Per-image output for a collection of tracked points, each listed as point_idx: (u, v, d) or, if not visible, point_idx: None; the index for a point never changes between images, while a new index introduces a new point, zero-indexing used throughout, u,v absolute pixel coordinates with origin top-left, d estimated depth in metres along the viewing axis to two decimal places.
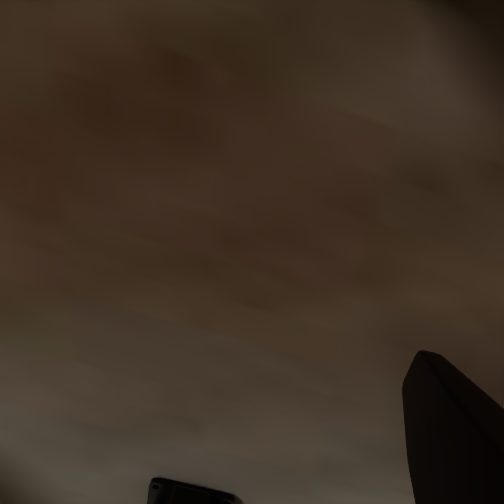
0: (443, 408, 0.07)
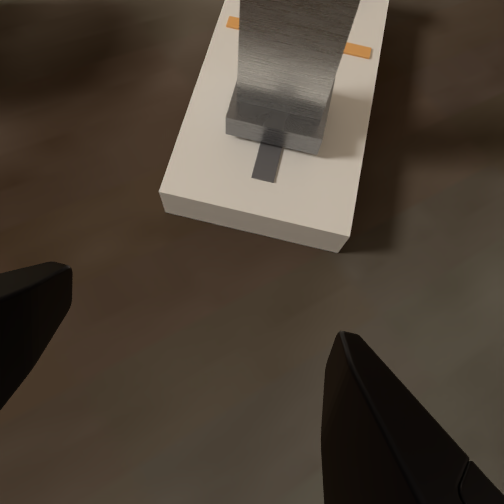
0: (346, 384, 0.07)
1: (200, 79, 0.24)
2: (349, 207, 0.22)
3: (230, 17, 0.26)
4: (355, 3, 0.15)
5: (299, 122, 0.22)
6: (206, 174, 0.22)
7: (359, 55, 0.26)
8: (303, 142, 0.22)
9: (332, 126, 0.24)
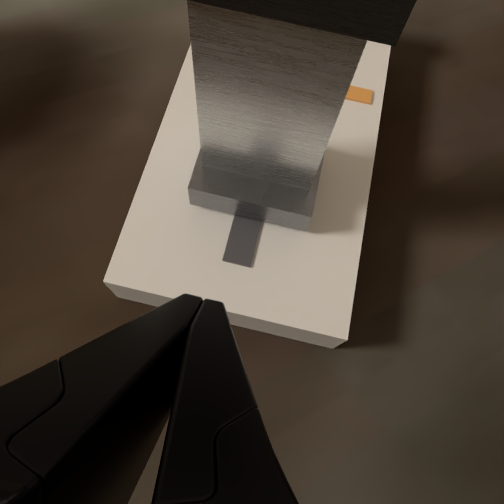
0: (185, 346, 0.07)
1: (161, 131, 0.20)
2: (346, 300, 0.18)
3: None
4: (353, 61, 0.11)
5: (282, 193, 0.17)
6: (164, 258, 0.18)
7: (357, 100, 0.21)
8: (287, 218, 0.17)
9: (325, 191, 0.19)
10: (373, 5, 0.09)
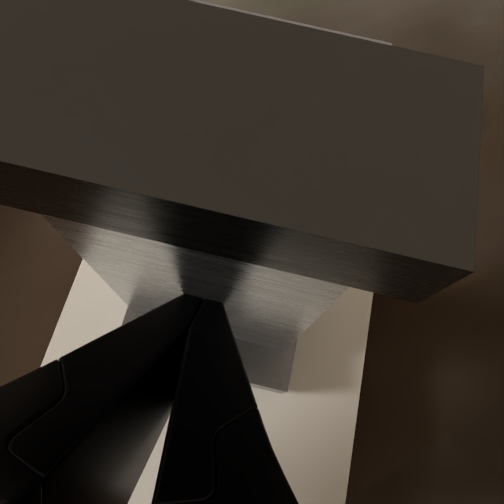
0: (185, 345, 0.07)
1: None
2: (336, 497, 0.13)
3: None
4: (338, 285, 0.06)
5: (246, 355, 0.12)
6: None
7: None
8: (254, 385, 0.12)
9: (309, 328, 0.14)
10: (374, 264, 0.04)
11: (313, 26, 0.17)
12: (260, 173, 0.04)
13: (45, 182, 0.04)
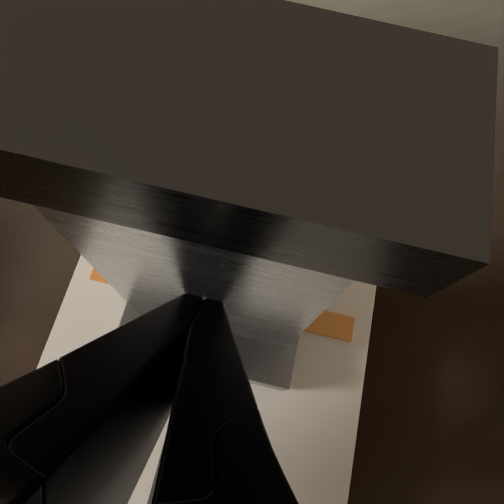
0: (185, 345, 0.07)
1: None
2: None
3: None
4: (343, 279, 0.06)
5: (247, 352, 0.12)
6: None
7: (331, 334, 0.14)
8: (255, 382, 0.12)
9: None
10: (383, 255, 0.04)
11: None
12: (262, 159, 0.04)
13: (36, 169, 0.04)
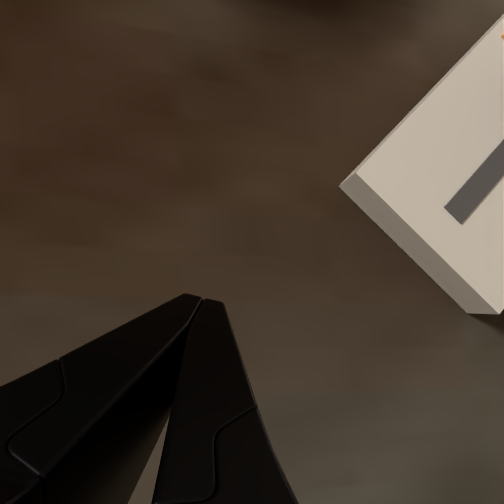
0: (185, 345, 0.07)
1: (448, 79, 0.22)
2: None
3: None
4: None
5: None
6: (405, 181, 0.21)
7: None
8: None
9: None
10: None
11: None
12: None
13: None
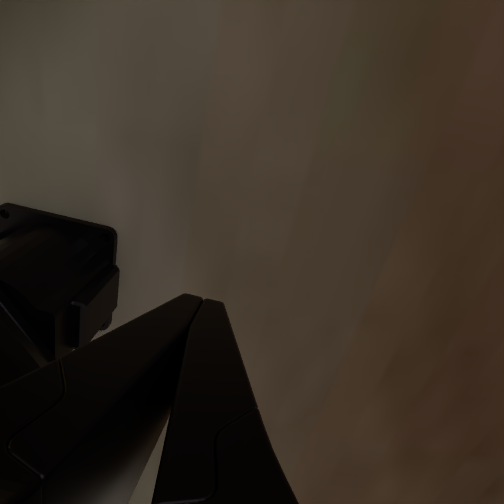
0: (184, 345, 0.07)
1: None
2: None
3: None
4: None
5: None
6: None
7: None
8: None
9: None
10: None
11: None
12: None
13: None
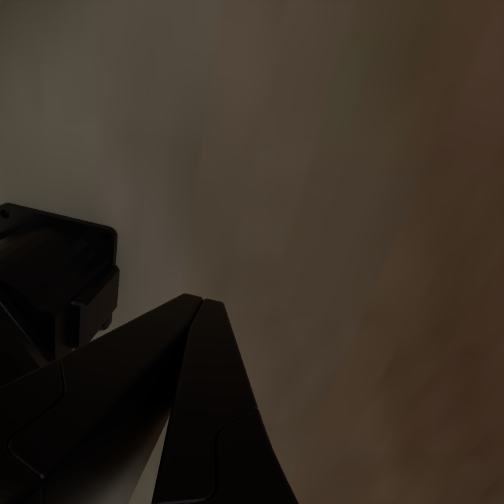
0: (185, 345, 0.07)
1: None
2: None
3: None
4: None
5: None
6: None
7: None
8: None
9: None
10: None
11: None
12: None
13: None
